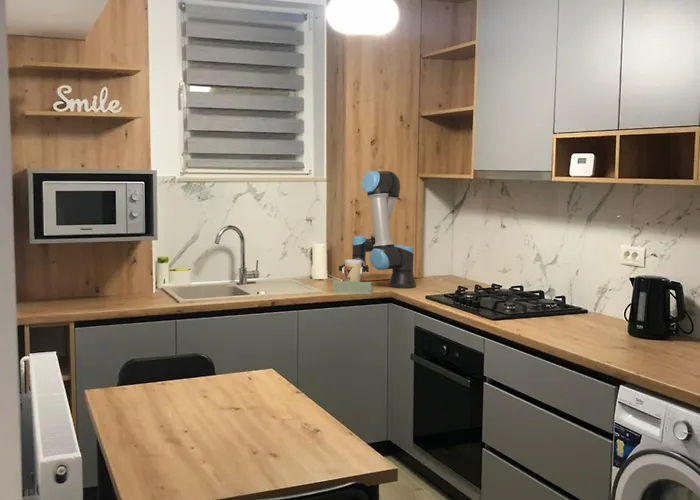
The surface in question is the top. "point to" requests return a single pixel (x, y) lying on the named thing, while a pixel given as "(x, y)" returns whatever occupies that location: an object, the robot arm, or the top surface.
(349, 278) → the coffee cup
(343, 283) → the green rectangular box
